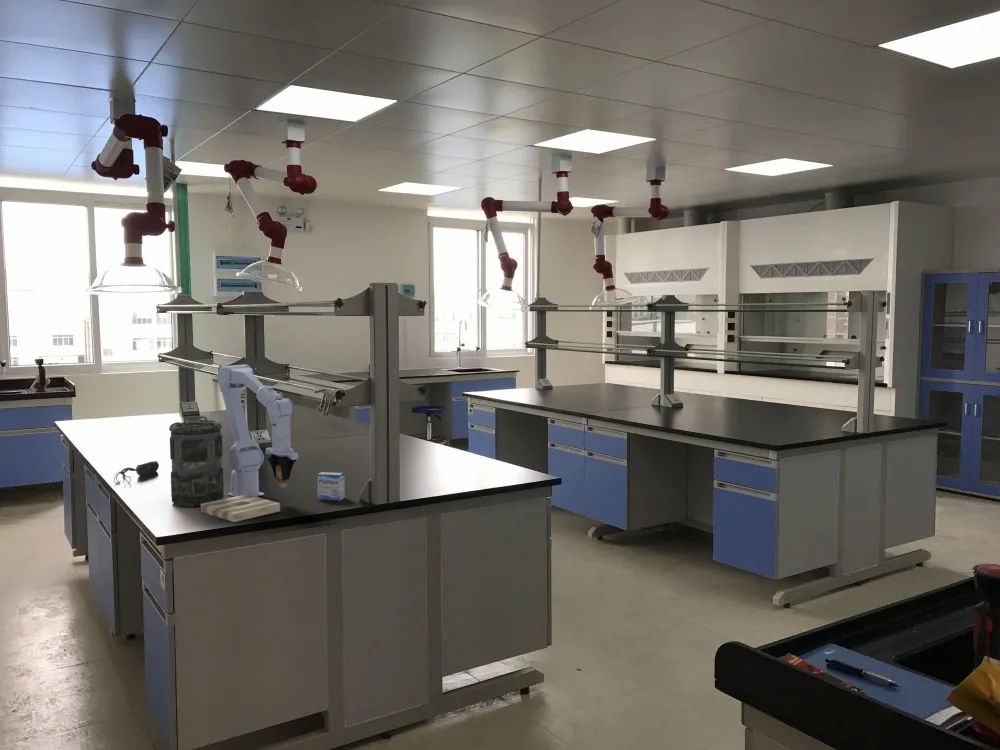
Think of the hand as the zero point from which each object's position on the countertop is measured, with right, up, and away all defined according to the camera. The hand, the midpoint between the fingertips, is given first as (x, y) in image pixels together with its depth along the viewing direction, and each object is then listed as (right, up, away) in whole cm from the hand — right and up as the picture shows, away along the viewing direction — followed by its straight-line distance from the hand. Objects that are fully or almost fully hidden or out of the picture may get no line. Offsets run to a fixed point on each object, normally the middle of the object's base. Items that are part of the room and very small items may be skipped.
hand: (282, 478), depth 249 cm
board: (-10, -9, -9) cm, 16 cm away
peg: (0, -3, 0) cm, 3 cm away
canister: (-28, -8, +3) cm, 29 cm away
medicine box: (+14, -8, +7) cm, 18 cm away
